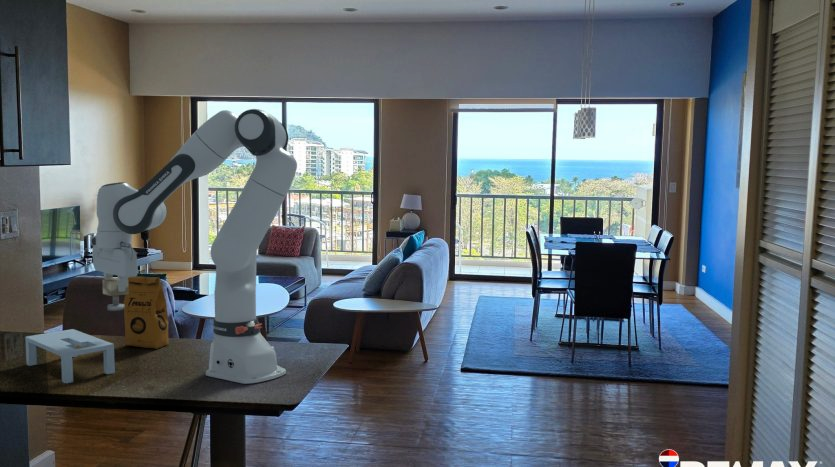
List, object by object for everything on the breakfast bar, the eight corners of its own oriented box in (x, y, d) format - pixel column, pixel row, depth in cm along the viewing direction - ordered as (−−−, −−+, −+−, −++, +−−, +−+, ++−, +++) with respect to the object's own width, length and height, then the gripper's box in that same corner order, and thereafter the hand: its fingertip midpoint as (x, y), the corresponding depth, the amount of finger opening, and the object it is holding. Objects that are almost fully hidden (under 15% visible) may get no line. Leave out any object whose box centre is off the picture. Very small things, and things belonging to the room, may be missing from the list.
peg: (128, 309, 197) (128, 279, 196) (111, 311, 193) (110, 281, 192) (120, 306, 200) (120, 277, 199) (103, 309, 196) (102, 279, 196)
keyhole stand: (114, 372, 190) (113, 344, 190) (65, 383, 181) (64, 353, 180) (73, 355, 207) (72, 329, 207) (26, 364, 198) (25, 336, 197)
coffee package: (154, 351, 213) (152, 279, 211) (120, 348, 216) (117, 277, 214) (174, 343, 222) (172, 275, 220) (141, 340, 226) (139, 273, 224)
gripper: (143, 243, 190) (144, 293, 191) (109, 237, 204) (110, 284, 205) (120, 244, 186) (121, 296, 187) (87, 238, 199) (88, 286, 200)
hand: (115, 289), depth 196 cm, fingers closed on peg, 5 cm apart
